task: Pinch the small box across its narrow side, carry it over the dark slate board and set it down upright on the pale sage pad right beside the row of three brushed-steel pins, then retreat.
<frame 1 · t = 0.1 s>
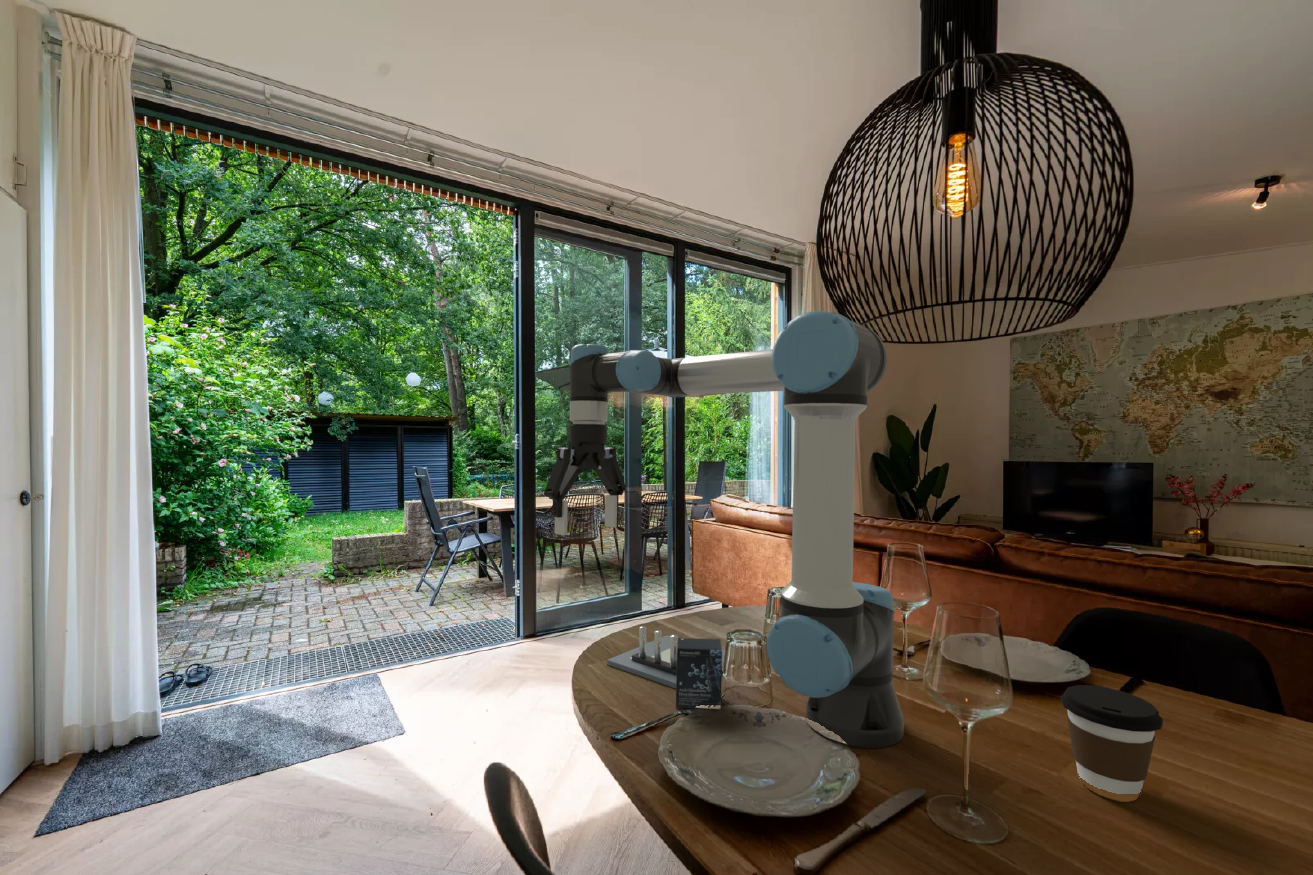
hand: (586, 530, 117), 28 cm above the table, fingers open, 13 cm apart
coffee cup: (1108, 790, 79), on the table
slate board: (675, 662, 122), on the table
box: (698, 704, 104), on the table
header pins: (657, 671, 117), resting on slate board
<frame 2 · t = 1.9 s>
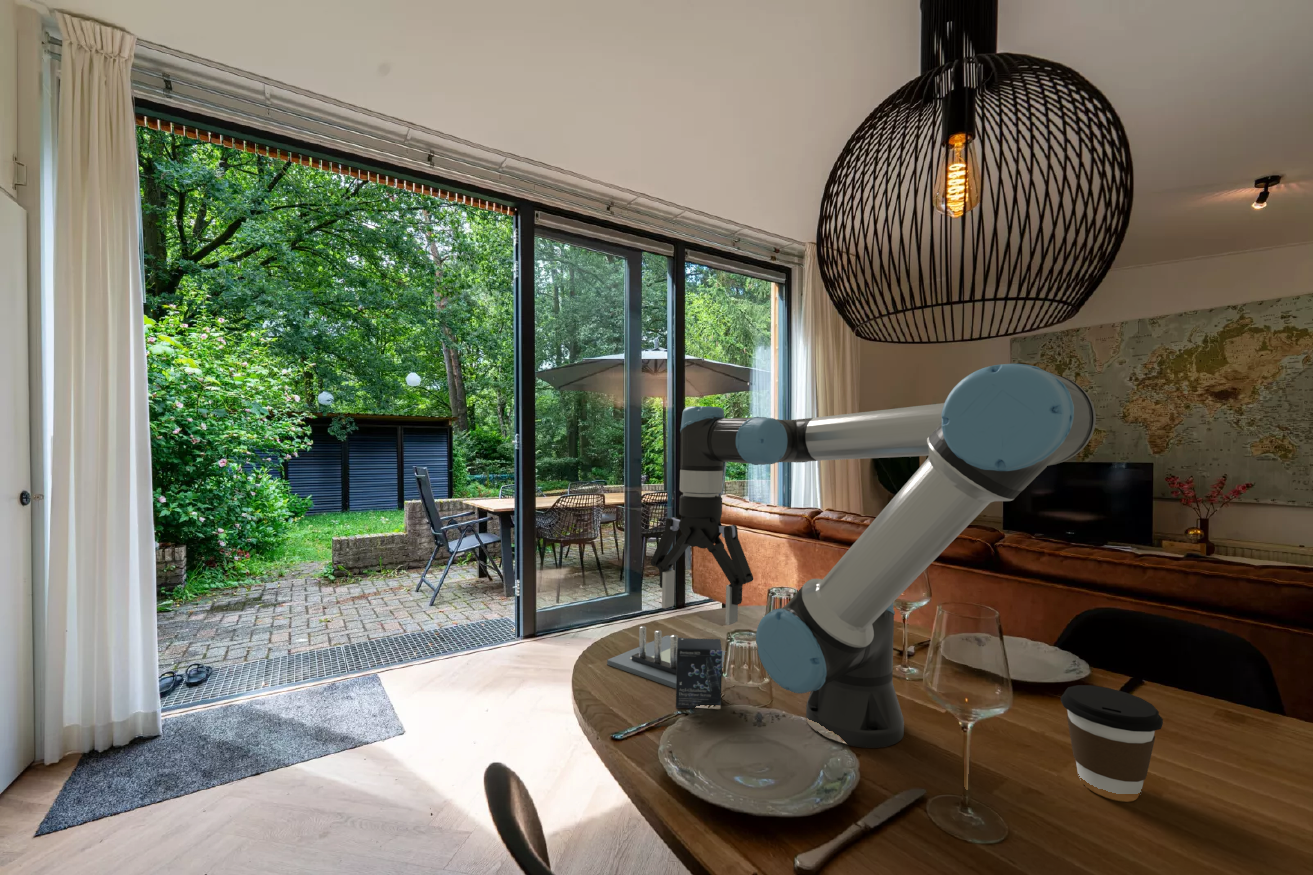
hand: (698, 614, 104), 15 cm above the table, fingers open, 13 cm apart
nothing on the table moved.
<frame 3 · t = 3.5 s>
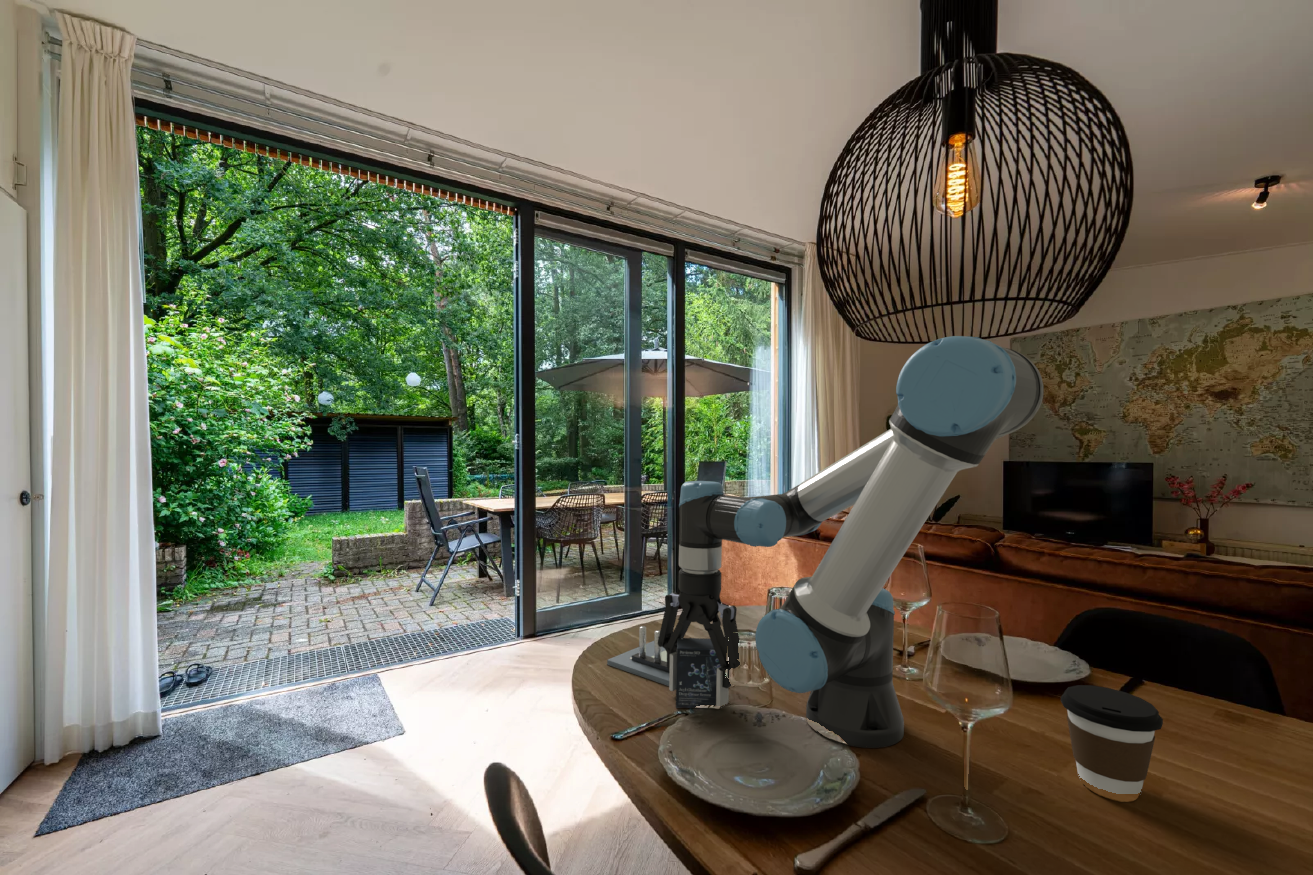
hand: (698, 696, 104), 1 cm above the table, fingers closed on box, 9 cm apart
box: (698, 703, 104), on the table, touching gripper
everything else where it was.
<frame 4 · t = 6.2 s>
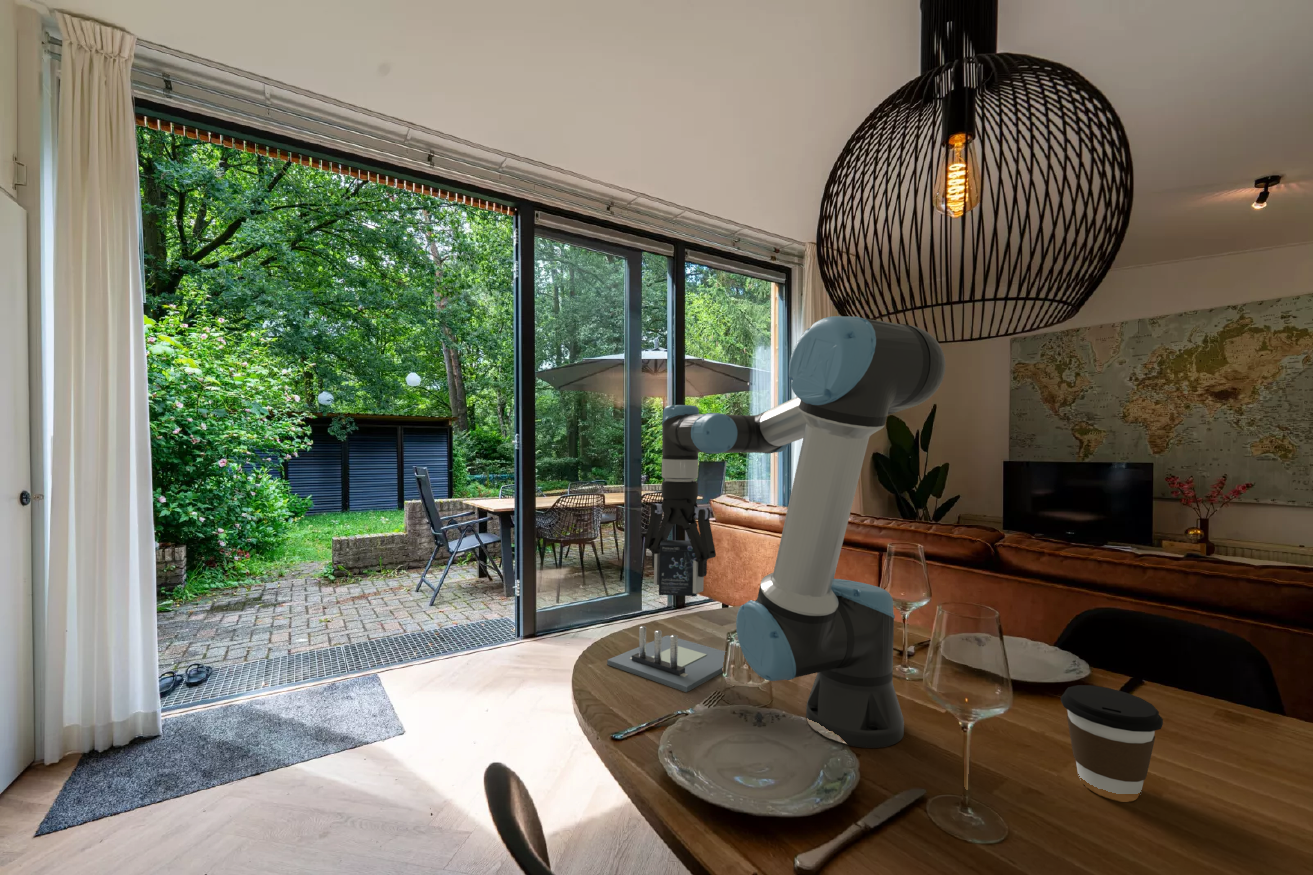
hand: (678, 587, 122), 15 cm above the table, fingers closed on box, 9 cm apart
box: (678, 594, 122), point 14 cm above the table, touching gripper
everything else where it was.
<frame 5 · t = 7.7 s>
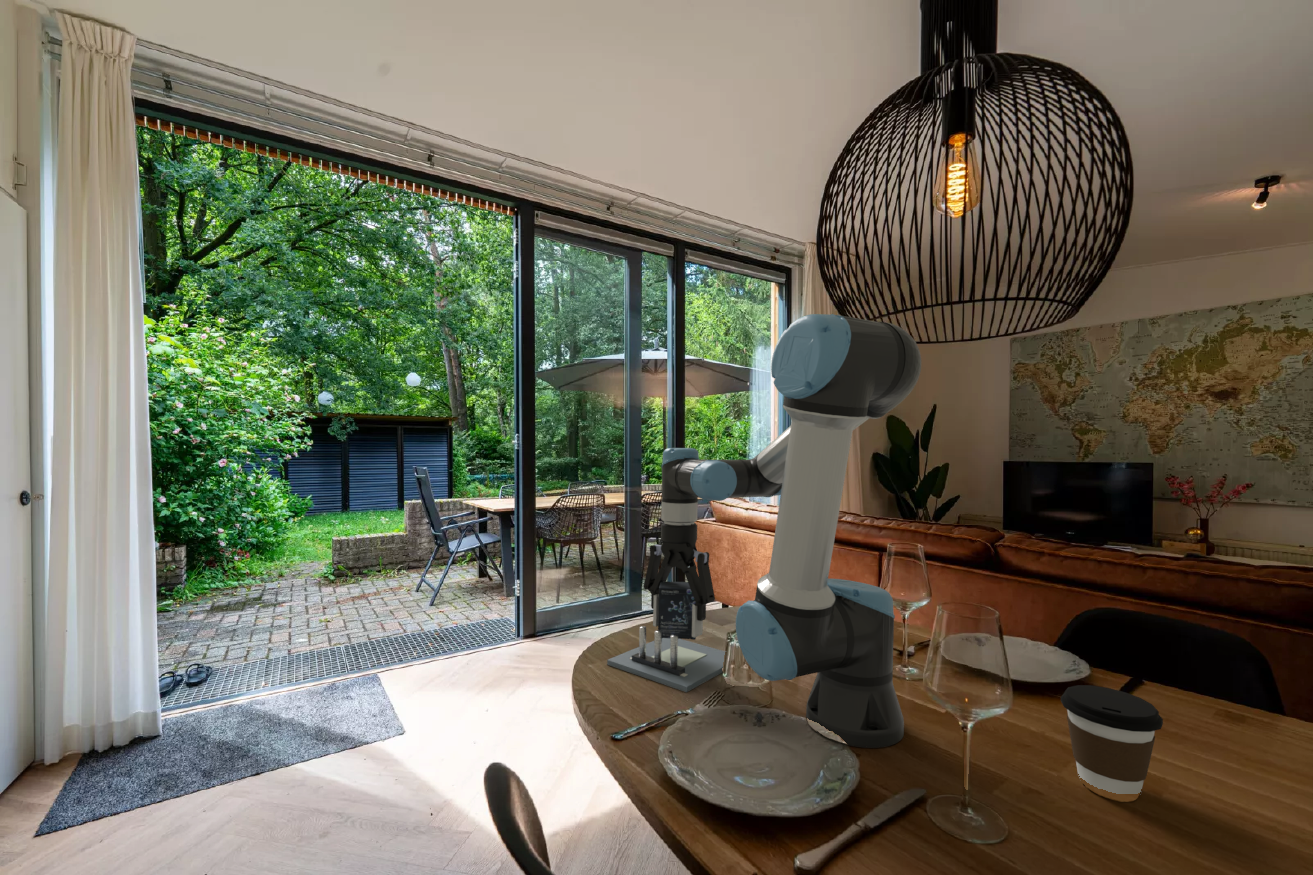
hand: (677, 629, 122), 7 cm above the table, fingers closed on box, 9 cm apart
box: (677, 636, 122), point 5 cm above the table, touching gripper
everything else where it was.
when the fingers open (3 cm above the table, at t = 8.9 s): box stays where it is, resting on slate board.
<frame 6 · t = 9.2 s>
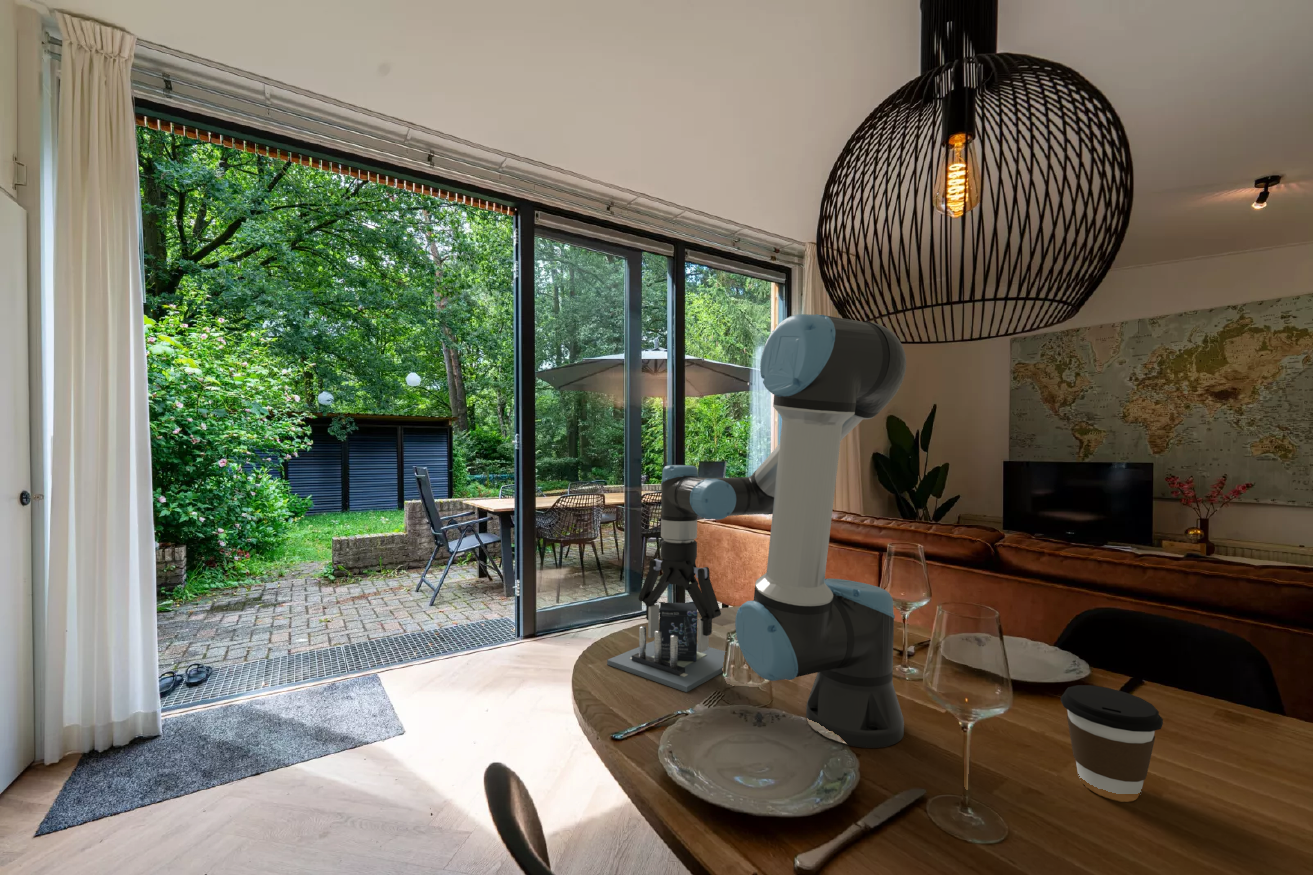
hand: (677, 643, 122), 4 cm above the table, fingers open, 12 cm apart
box: (677, 657, 122), point 1 cm above the table, touching slate board
everything else where it was.
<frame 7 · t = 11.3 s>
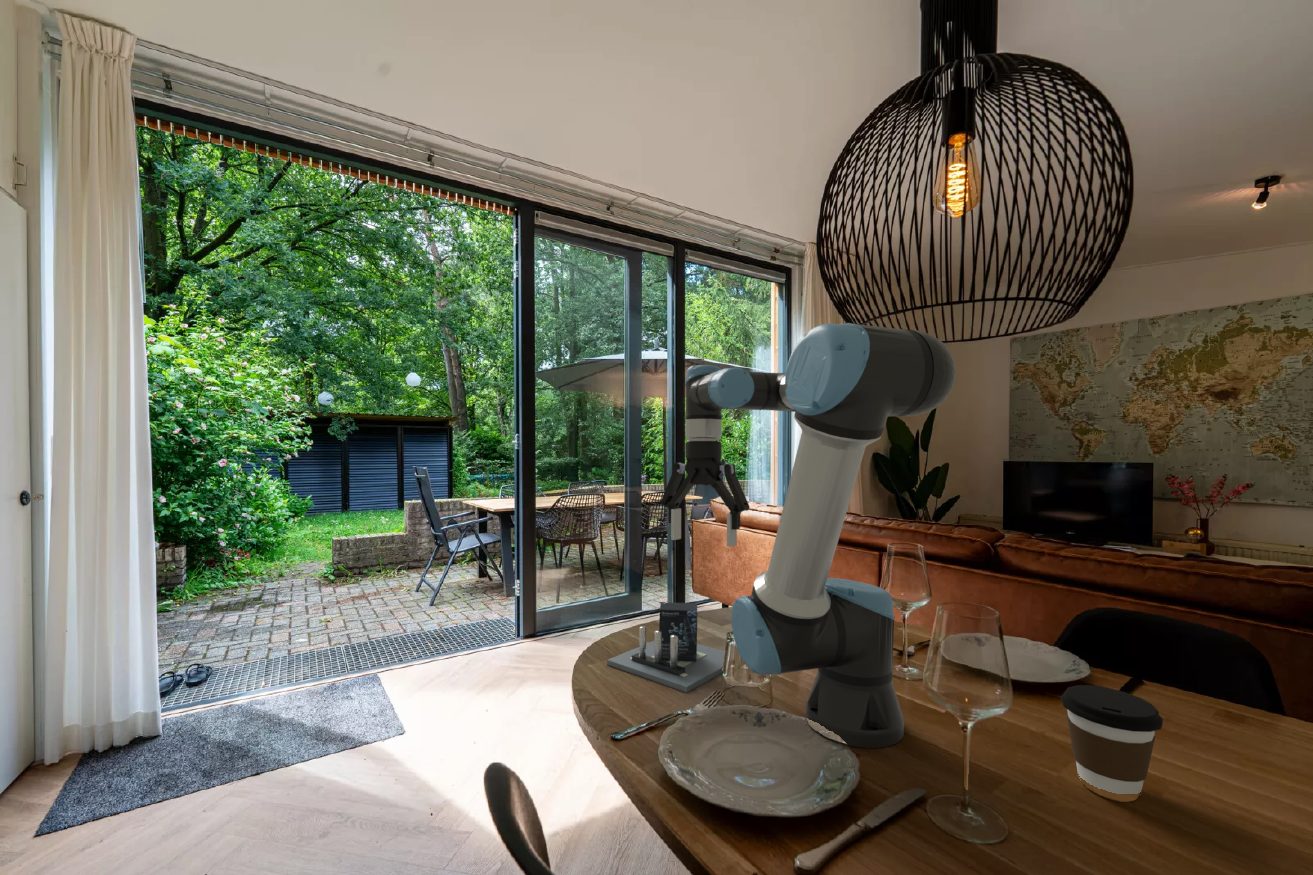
hand: (702, 542, 122), 25 cm above the table, fingers open, 13 cm apart
nothing on the table moved.
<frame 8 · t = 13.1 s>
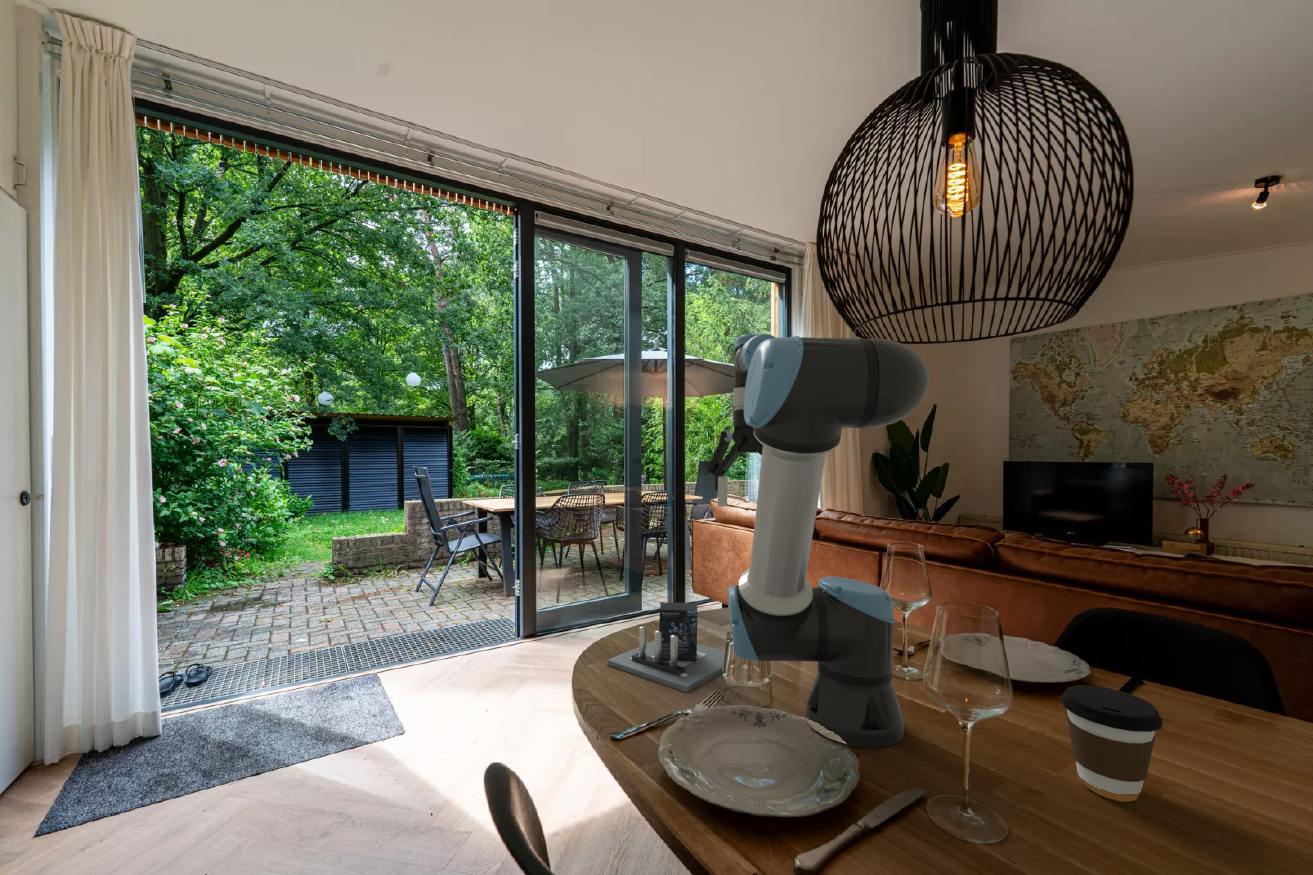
hand: (749, 509, 125), 32 cm above the table, fingers open, 13 cm apart
nothing on the table moved.
at the end: box inside the target area (0.4 cm from its centre), point 1.0 cm above the table; box tilted 0°; the gripper is holding nothing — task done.
